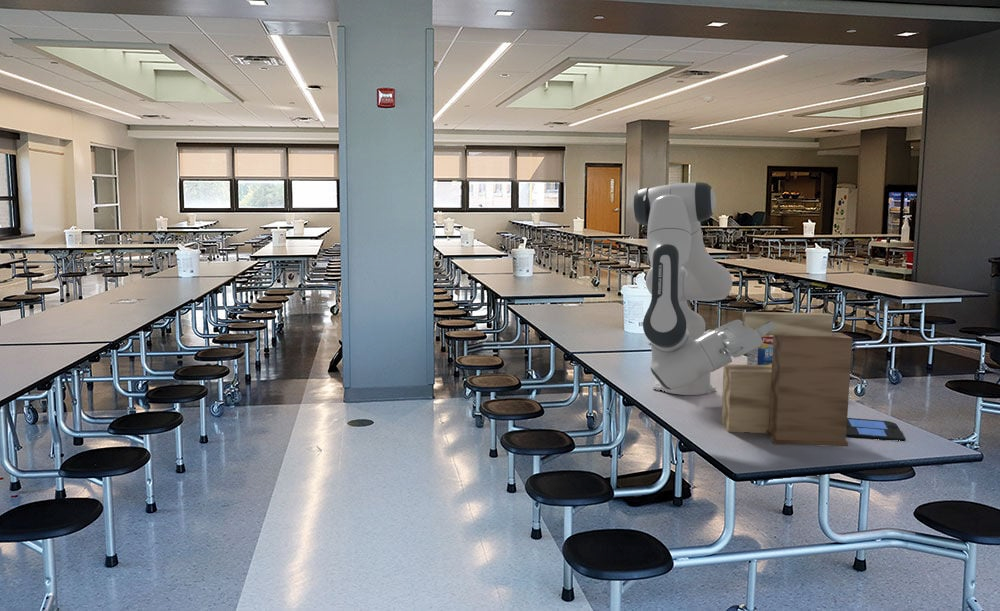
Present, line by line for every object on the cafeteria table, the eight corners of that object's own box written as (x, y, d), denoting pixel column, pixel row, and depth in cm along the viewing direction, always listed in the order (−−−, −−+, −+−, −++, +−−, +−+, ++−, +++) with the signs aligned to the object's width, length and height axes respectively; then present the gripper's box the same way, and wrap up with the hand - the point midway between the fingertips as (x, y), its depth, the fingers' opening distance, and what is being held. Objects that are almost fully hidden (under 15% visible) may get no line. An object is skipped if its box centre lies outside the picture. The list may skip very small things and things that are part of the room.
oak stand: (721, 422, 204) (724, 358, 202) (807, 424, 202) (811, 360, 200) (728, 432, 195) (731, 365, 193) (818, 434, 193) (822, 367, 191)
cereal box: (745, 381, 251) (748, 313, 249) (776, 379, 253) (780, 313, 251) (756, 385, 245) (759, 316, 242) (788, 384, 247) (791, 316, 244)
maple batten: (742, 332, 189) (743, 311, 188) (826, 333, 187) (828, 313, 186) (745, 334, 185) (746, 314, 184) (831, 336, 183) (833, 315, 183)
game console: (841, 439, 192) (842, 430, 191) (834, 424, 204) (835, 416, 204) (906, 444, 188) (907, 435, 188) (894, 429, 200) (895, 420, 200)
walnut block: (766, 434, 194) (771, 331, 190) (835, 436, 192) (842, 332, 189) (775, 444, 185) (780, 337, 182) (847, 446, 184) (854, 338, 181)
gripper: (718, 345, 177) (774, 316, 175) (703, 330, 198) (752, 304, 196) (731, 369, 178) (787, 340, 176) (714, 352, 198) (764, 326, 196)
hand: (768, 321), depth 186 cm, fingers open, 7 cm apart
